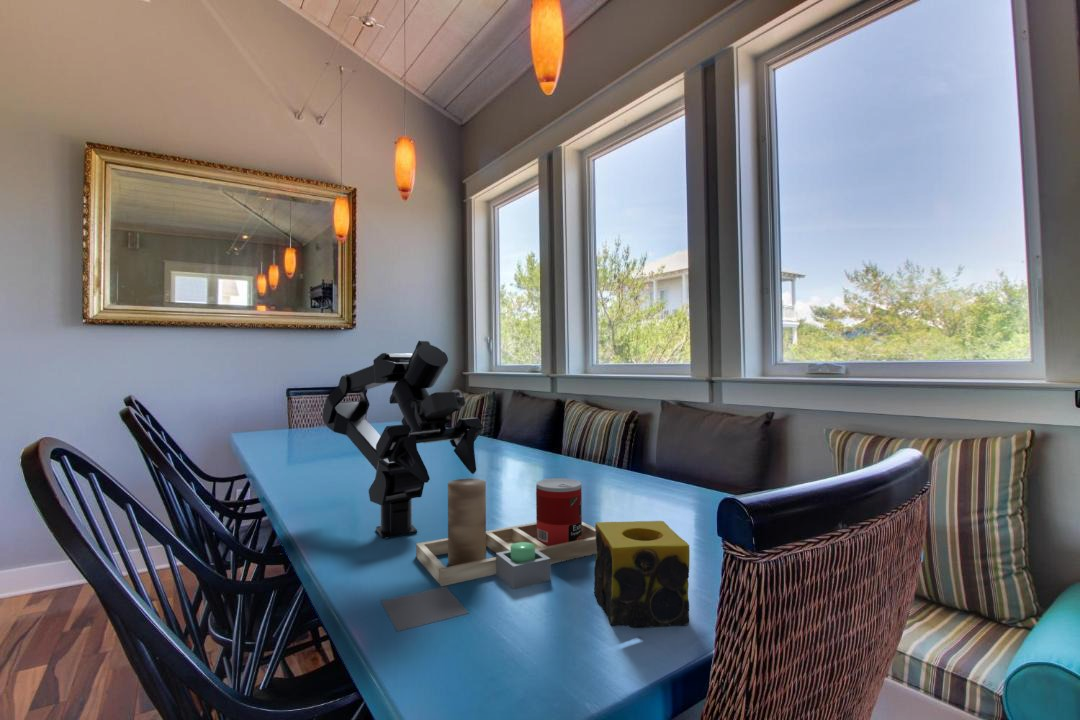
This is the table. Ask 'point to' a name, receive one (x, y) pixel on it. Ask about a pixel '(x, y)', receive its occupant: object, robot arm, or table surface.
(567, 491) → the canned food
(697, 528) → the table surface
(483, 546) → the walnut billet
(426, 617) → the rubber mat
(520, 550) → the button
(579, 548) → the birch frame
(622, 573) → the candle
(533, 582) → the grey square box
